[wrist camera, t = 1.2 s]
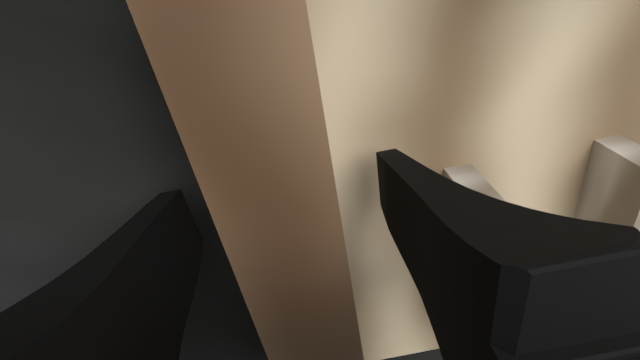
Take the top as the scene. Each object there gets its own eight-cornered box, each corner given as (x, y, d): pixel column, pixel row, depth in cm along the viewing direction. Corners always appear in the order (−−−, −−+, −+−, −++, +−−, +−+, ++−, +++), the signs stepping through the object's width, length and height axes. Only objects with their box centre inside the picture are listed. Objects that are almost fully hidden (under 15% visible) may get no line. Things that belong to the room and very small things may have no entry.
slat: (276, -123, 9) (277, -172, 5) (351, 314, 17) (371, 402, 14) (151, -100, 9) (72, -134, 5) (288, 326, 17) (291, 418, 14)
